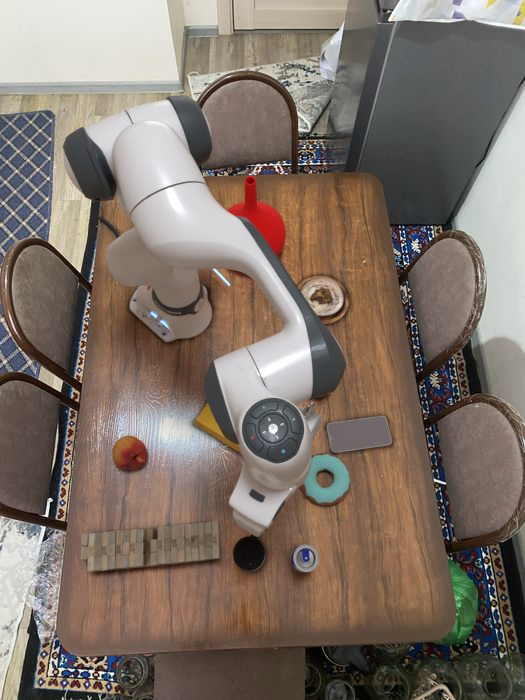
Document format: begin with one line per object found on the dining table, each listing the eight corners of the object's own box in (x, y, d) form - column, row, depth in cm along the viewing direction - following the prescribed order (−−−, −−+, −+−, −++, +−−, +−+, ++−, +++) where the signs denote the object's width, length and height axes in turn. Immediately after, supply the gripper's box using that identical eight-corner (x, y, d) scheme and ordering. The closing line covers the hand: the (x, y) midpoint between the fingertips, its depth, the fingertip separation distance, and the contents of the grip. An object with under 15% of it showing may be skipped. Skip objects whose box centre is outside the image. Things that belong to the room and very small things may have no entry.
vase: (207, 261, 146) (195, 190, 119) (242, 216, 152) (238, 139, 125) (262, 291, 143) (263, 225, 115) (296, 244, 149) (304, 170, 121)
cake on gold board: (346, 276, 145) (348, 268, 141) (350, 324, 139) (352, 317, 135) (293, 276, 144) (294, 268, 141) (294, 324, 139) (295, 317, 135)
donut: (288, 475, 123) (289, 472, 119) (326, 445, 126) (328, 441, 122) (320, 517, 119) (322, 515, 116) (359, 485, 122) (362, 482, 119)
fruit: (123, 478, 123) (115, 472, 115) (111, 448, 125) (102, 441, 118) (154, 463, 124) (147, 456, 117) (141, 433, 127) (134, 425, 120)
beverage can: (288, 548, 117) (291, 545, 103) (310, 546, 117) (317, 543, 103) (290, 572, 115) (294, 573, 101) (313, 570, 115) (320, 570, 101)
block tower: (92, 572, 116) (223, 560, 116) (79, 572, 108) (219, 559, 108) (94, 534, 119) (221, 523, 119) (81, 532, 111) (217, 520, 111)
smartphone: (392, 444, 125) (332, 453, 124) (392, 445, 126) (331, 454, 125) (385, 415, 128) (326, 423, 127) (384, 416, 129) (325, 424, 128)
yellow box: (193, 424, 128) (193, 423, 127) (224, 378, 133) (224, 378, 132) (248, 458, 125) (248, 457, 124) (278, 410, 129) (278, 409, 129)
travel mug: (269, 545, 117) (270, 540, 99) (259, 575, 115) (259, 576, 96) (242, 535, 118) (239, 529, 99) (232, 565, 115) (227, 564, 97)
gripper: (295, 386, 76) (296, 414, 88) (221, 513, 69) (233, 524, 82) (334, 407, 74) (330, 432, 86) (261, 538, 67) (268, 545, 80)
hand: (282, 478), depth 84 cm, fingers open, 8 cm apart
